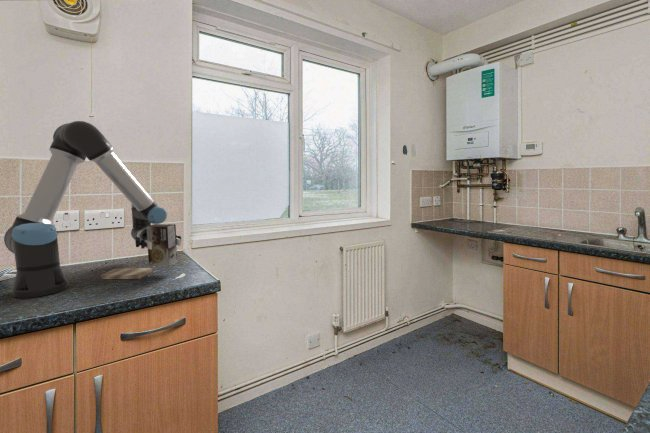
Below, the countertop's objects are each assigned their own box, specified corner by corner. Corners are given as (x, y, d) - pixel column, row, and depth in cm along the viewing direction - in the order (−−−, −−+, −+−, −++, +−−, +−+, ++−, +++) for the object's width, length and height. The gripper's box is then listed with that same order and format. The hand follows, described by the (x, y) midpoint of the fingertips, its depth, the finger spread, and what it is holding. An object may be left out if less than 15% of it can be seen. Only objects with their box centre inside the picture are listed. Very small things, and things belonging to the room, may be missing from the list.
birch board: (101, 279, 132) (100, 275, 132) (116, 271, 142) (116, 268, 142) (139, 278, 133) (139, 275, 132) (152, 271, 143) (151, 268, 142)
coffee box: (178, 262, 141) (176, 224, 139) (169, 266, 134) (167, 226, 132) (157, 261, 142) (155, 223, 140) (147, 265, 135) (145, 225, 133)
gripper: (175, 242, 158) (194, 249, 142) (119, 248, 143) (134, 257, 127) (174, 226, 157) (194, 232, 141) (118, 230, 142) (133, 238, 126)
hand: (165, 244), depth 134 cm, fingers closed on coffee box, 10 cm apart
